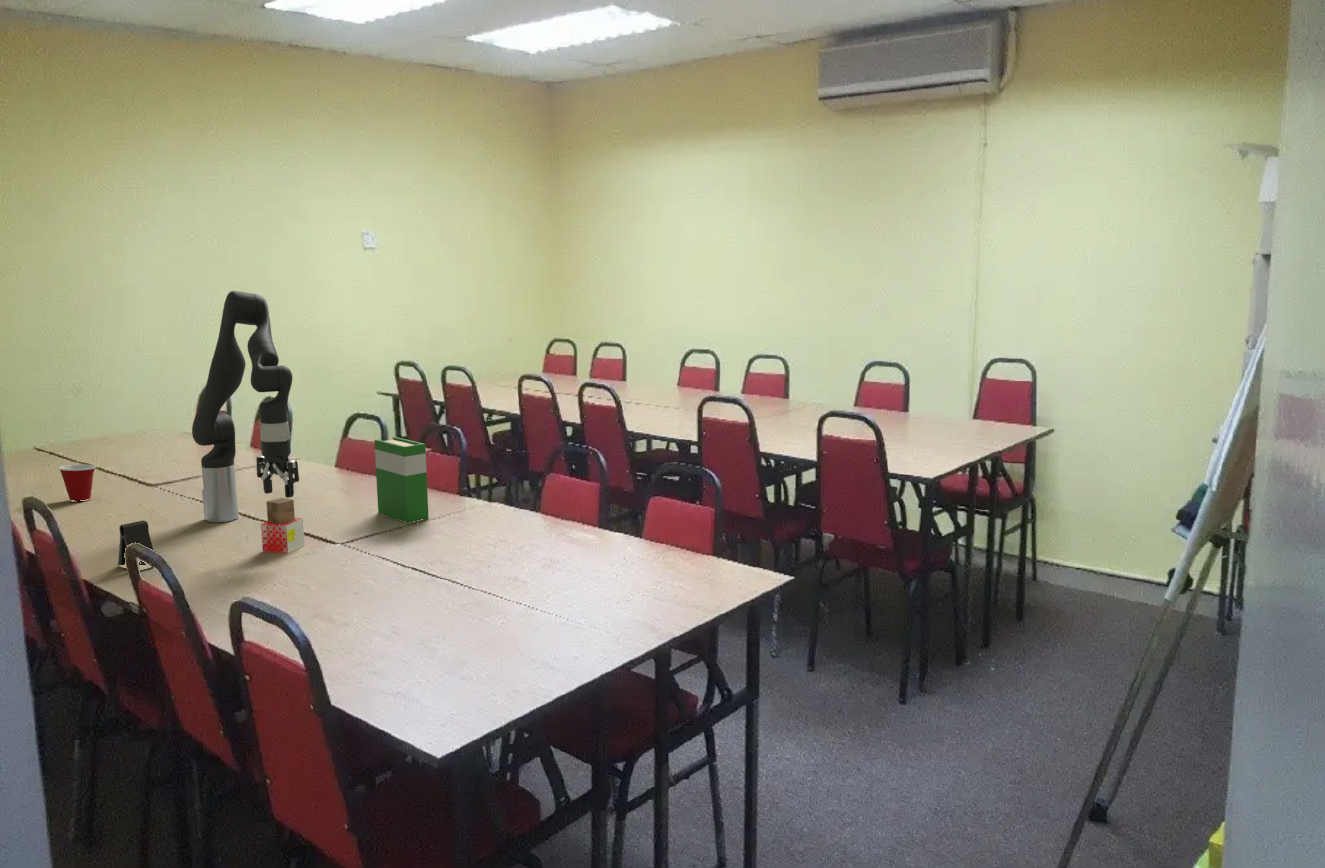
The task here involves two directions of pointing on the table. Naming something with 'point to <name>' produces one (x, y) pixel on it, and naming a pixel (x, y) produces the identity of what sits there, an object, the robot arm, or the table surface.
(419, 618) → the table surface
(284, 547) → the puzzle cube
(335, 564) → the table surface
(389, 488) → the hardback book
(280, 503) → the walnut block
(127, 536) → the black tent stand
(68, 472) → the plastic cup
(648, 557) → the table surface
